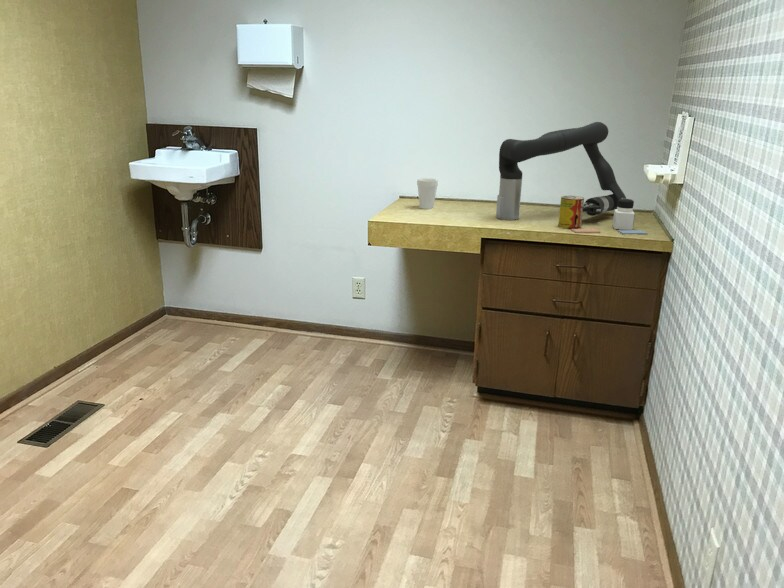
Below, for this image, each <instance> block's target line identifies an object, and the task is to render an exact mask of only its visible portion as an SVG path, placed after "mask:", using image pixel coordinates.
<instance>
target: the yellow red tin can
mask: <svg viewBox="0 0 784 588" xmlns="http://www.w3.org/2000/svg"><path fill="white" fill-rule="evenodd" d="M584 203H585V198H584V196H583V197H582V196H578V195H562V196H560V206H559V215H558V227H559V228H561V227H562V229H566V228H568V229H567V230H571V229H582V221H583V204H584Z"/></svg>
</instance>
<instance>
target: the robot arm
mask: <svg viewBox="0 0 784 588" xmlns="http://www.w3.org/2000/svg"><path fill="white" fill-rule="evenodd" d="M608 136H609V128H608V126H607V125H606V124H605V123H603V122H601V121H595V122H592V123H589V124H587V125H586V124H585V125H584V126H579V127H575V128H574V127H573V128H565V129H564V128H563V129H559V130H553V131H549V132H546V133H544V134H543V135H541V136H539V137H537V138H535V139H534V138H533V139H524V140H522V139H521V140H520V139H515V138H514V139H513V138H507V139H505V140H503V142H502V143H501V145H500V148H499V153H498V154H499V155H498V170H499V177H500V178H499V188H498V189H499V190H498V192H499V193H498V194H497V197H496V198H497V199H496V201H497V202H496V211H495V212H496V213H495V214H496V215H495V217H496V218H497V219H499V220H504V219H506V220H507V221H511V220H512V221H516V220H519V219H520V208H521V196H522V185H523V184H522V183H523V171H522V170H521V169H520V167H519V165H518V164H519V163H521V162H525V161H528V160H530V159H533V158H536V157H540V156H547V155H548V156H549V155H555V154H558V153H562V152H565V151H568V150H571V149H574V148H576V147H579V146H582V147H583V148H584V150H585V152H586V154H587V156H588V158H589V160H590V163H591V165H592V167H593V168H594V171H595V174H596V176H597V177H596V178H597V180H598V182H599V183H598V184H599V187H600V189H601V191H610V192H611V193H612V194H611V193H610V194H607V195H601V196H594V197H590V198H588V199H586V200H584V204H583V213H584V214H586V215H588V216H592V217H593V216H596V215H601V214H603V213H607V212H611V211H614V210H615V209H617V205H618V200H619V199H627V196H626V194H625V193H624V192H623V190H622V189H621V187H620V185H619V184H618V182H617V179H616V176H615V173H614V170H613V168H612V166H611V165H610V163H609V162H608V161H607V160H606V159H605V157H604V156H603V155H602V153H601V151H600V150H599V146H598V144H600V143H602V142H604V141H605V140H606V139H607V137H608ZM583 213H582V214H583ZM515 219H516V220H515ZM506 220H505V221H506Z"/></svg>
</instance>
